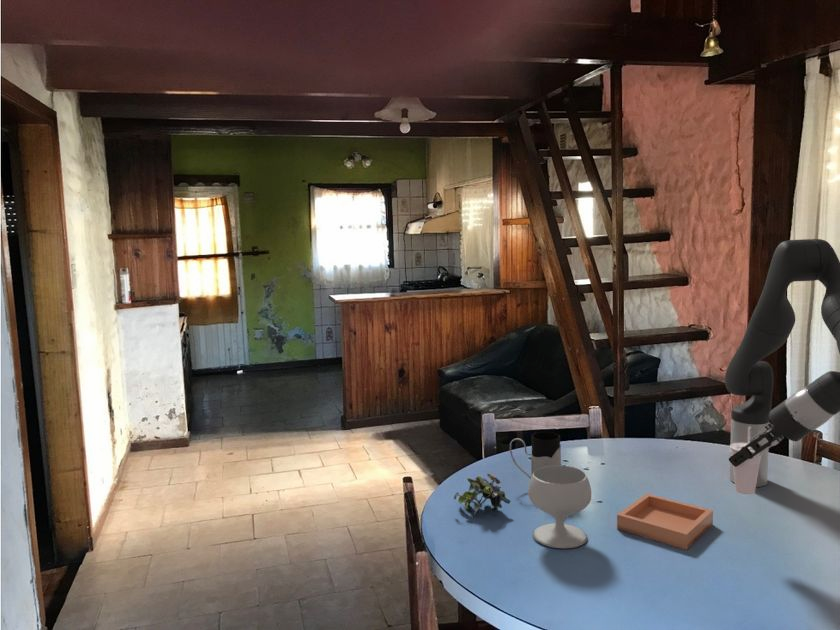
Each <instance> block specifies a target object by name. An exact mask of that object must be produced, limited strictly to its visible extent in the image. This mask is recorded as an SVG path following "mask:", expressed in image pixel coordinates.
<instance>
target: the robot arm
mask: <svg viewBox="0 0 840 630" xmlns="http://www.w3.org/2000/svg"><path fill="white" fill-rule="evenodd" d="M810 281H811V282H814V281H819V282H820V283H821V284H822V285H823V286H824V287H825V293H824V295H823V299H822V303H821V306H820V310H821V311H820V315H821V318H822V320H823V322H824V324H825V326H826V327H827V329H828V330H829V332H830V334H831V335H832V337H833V338H834V340H835V341H836V346H837V350H838V353H839V355H840V260H839V257H838V255H837V253H836V251H835V250H834V248H833V246H832V245H831V244H830V243H829V242H828V241H827V240H825V239H819V238H808V239H807V238H806V239H789V240H784V241H782V242H780V243H779V244H778V245H777V247H776V248H775V250H774V252H773V255H772V259H771V262H770V264H769V269H768V272H767V275H766V280H765V283H764V286H763V289H762V292H761V294H760V297H759V299H758V302H757V304H756V306H755V308H754V311H753V312H752V314H751V318H750V319H749V322H748V324H747V328H746V330H745V333H744V336H743V337H742V340H741V342H740V344H739V346H738V348H737V350H736V351H735V353H734V355H733V356H732V358H731V360H730V362H729V363H728V365H727V367H726V370H725V376H724V384H725V388H726V389H727V392H729V393H730V394H731V395H735V396H741V397H742V396H744V397H745V396H751V397H750V398H749V399H748V400H746V401H744V402H743V403H740V404H738V405H735V406H733V407H732V409H731V412H730V413H731V414H730V416H731V417H730V445H731V444H733V443H748V427H751V439H750V440H749V441H750V443H748V444H747V445H746V446H743V447H742V449H741V450H740V451H738V452H737V453H735V454H734V455H732V454H731V451H730V450H729V452H730V453H729V455H730V456H729V458H728V462H729V480H730V481H731V482H732V483H733V484H735V480H734V471H733V466H734V467H737V466H739V465H740V464H741V463H743V462H744V461H746V460H747V459H752V458H753V457H754V456H755V455H757V454H758V453H763V454H762V455H761V460H760V465H759V471H758V477H757V483H756V488H759V487H764V486H767V484H768V476H769V475H768V472H769V450H770V448H771V447H775V446H777V445H778V444H780V443H781V441H782V440H784V439H785V438H786V439H788V440H789V441H791V442H799V441H800V440H802V439H803V438H805V437H807V436H808V435H809V434H811V433H812V432H814V431H815V430H817V429H818V428H820V427H821V426H823V425H824V424H826V423H827V422H828V421H830V419H832V418H833V417H834V416H836V415H837V414H839V413H840V371H837V370H835V371H834V370H830V371H827V372H825V373H824V374H822V375H821V376H819V377H817V378H816V379H815V380H814V381H812V382H811V383H809V384H808V385H806V386H804V387H803V388H802V389H799V390H798V391H796V392H795V393H793V394H792V395H790V396H789V397H787V398H786V399H785V400H783V401H782V402H780V403H779V404H777V406H775V407H774V408H772V405H773V404H772V402H773V401H772V400H773V393H774V371H773V368H772V365H770V363H769V362H768V361H765V360H763V359H765V358H766V357H768V356H770V355H771V354H773V353H774V352H776V351H777V350H779V349H780V348H781V347H782V346H783V345H784V344H785V343H786V341H788V338H789V336H790V334H791V333H792V330H793V329H794V326H795V323H796V313H795V311H794V308H793V306H792V304H791V303H790V300H789V298H788V297H787V291H788V288H789V286H790V285H791V283H793V282H810ZM748 447H752V448H753V450H754V451H755V452H754V453H752V452H751V451H750V450H749V449H748Z"/></svg>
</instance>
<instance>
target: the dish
mask: <svg viewBox="0 0 840 630" xmlns="http://www.w3.org/2000/svg"><path fill="white" fill-rule="evenodd" d="M713 525H714V510H713V509H708V508H705V507H702V506H697V505H694V504H689V503H686V502H682V501H678V500H673V499H671V498H666V497H661V496H658V495H655V494H650V493H645V494H644V495H643V496H641V497H640V498H638V499H637V500H635V501H634V502H633V503H631V504H630V505H628V506H627V507H626V508H624V509H622V510H621V511H620V512H618V513H617V514H616V530H619V529H620V530H619V531H622V530H623V532H625V531H627V532H626V533H629V532H631V533H630V534H632V533H634V534H633V535H635V534H637V535H636V536H639V535H641V536H640V537H642V536H643V538H645V537H647V538H646V539H649V538H650V540H652V539H653V541H655V540H656V541H655V542H659V543H662V544H665V543H666V544H665V545H668V544H669V546H671V547H676V548H679V549H682V550H685V551H687V550H688V549H689V548H690V547H691V546H692V545H693V544H694V543H695V542H697V541H698V539H700V537H702V536H703V535H704V534H705V533H706V532H707V531H708V530H709V529H710V528H711V527H712V526H713Z"/></svg>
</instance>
